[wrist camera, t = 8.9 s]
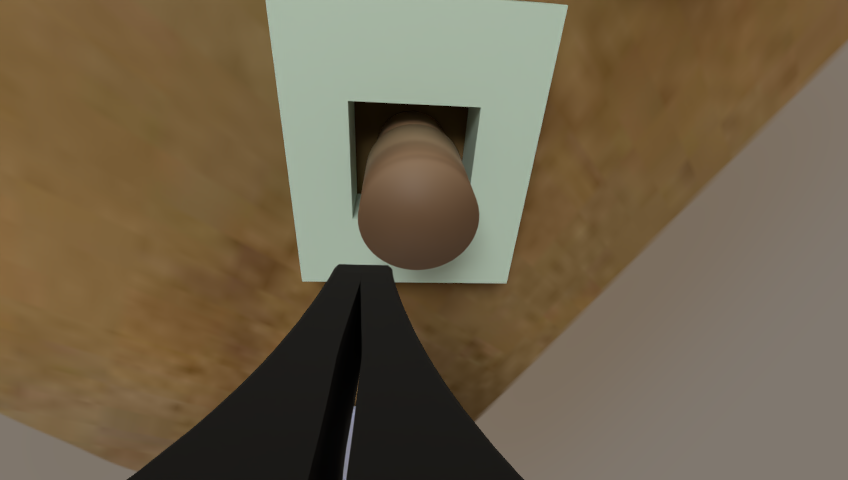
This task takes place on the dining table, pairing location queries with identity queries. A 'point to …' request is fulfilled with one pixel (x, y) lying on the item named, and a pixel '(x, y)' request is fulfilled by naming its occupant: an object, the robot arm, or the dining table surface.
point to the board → (411, 84)
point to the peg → (416, 196)
